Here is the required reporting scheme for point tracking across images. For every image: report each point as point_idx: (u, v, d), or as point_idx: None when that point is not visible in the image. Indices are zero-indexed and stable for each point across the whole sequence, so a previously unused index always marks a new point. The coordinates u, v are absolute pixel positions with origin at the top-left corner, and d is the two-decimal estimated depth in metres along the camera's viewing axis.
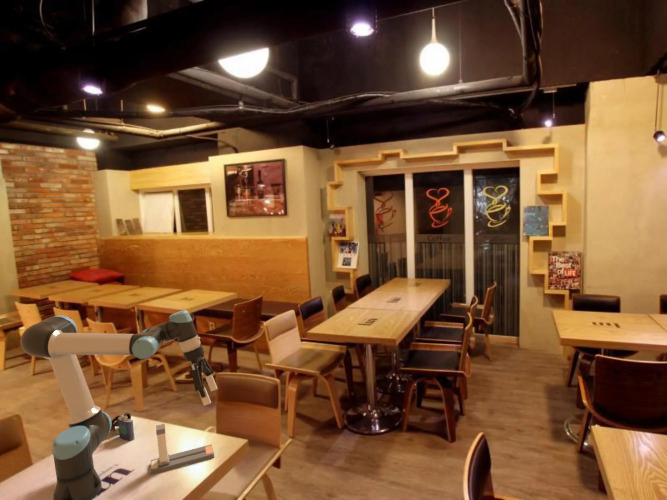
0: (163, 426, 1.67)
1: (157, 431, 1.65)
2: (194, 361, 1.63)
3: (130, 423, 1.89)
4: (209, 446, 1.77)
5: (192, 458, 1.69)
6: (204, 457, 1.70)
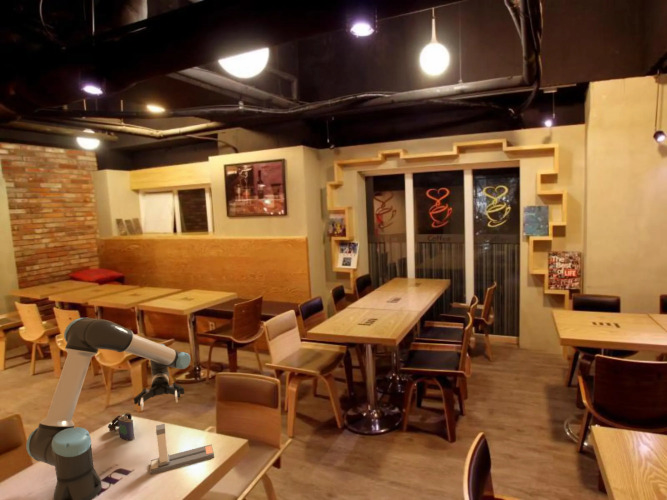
0: (163, 426, 1.67)
1: (157, 431, 1.65)
2: (168, 386, 1.92)
3: (130, 423, 1.89)
4: (209, 446, 1.77)
5: (192, 458, 1.69)
6: (204, 457, 1.70)
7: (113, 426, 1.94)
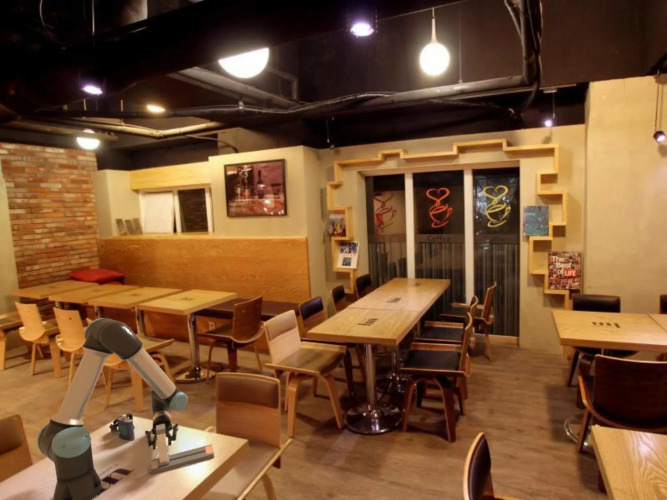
0: (163, 426, 1.67)
1: (157, 431, 1.65)
2: None
3: (130, 423, 1.88)
4: (209, 446, 1.77)
5: (192, 458, 1.69)
6: (204, 457, 1.70)
7: (114, 426, 1.93)
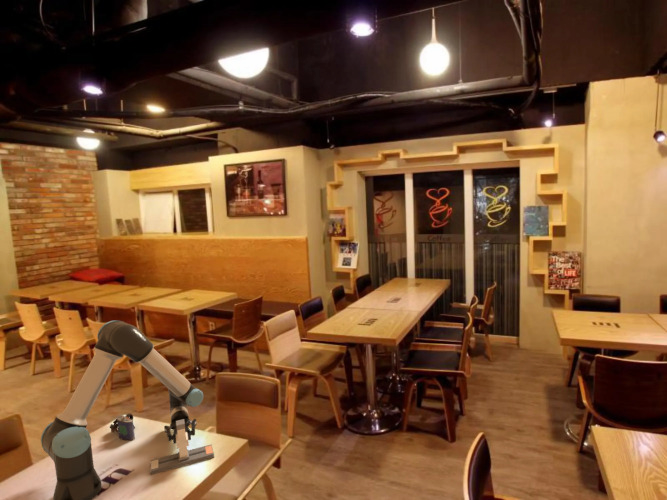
0: (183, 421, 1.70)
1: (177, 426, 1.67)
2: (190, 421, 1.84)
3: (130, 423, 1.88)
4: (209, 446, 1.77)
5: (192, 458, 1.69)
6: (204, 457, 1.70)
7: (115, 426, 1.93)
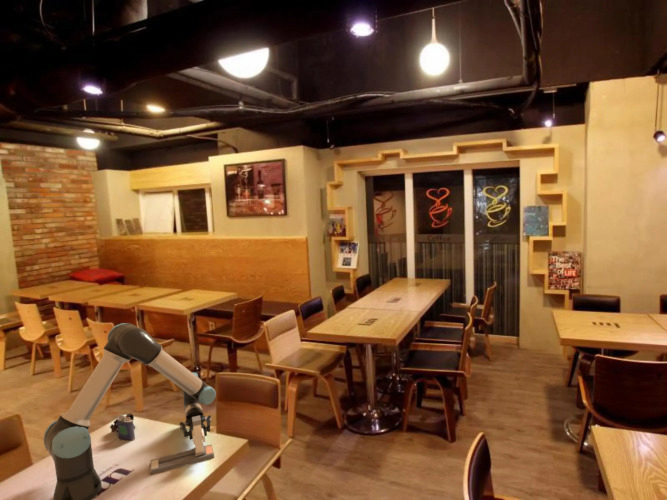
0: (199, 418, 1.72)
1: (194, 422, 1.70)
2: None
3: (131, 423, 1.88)
4: (209, 446, 1.77)
5: (192, 458, 1.69)
6: (204, 457, 1.70)
7: (115, 427, 1.93)
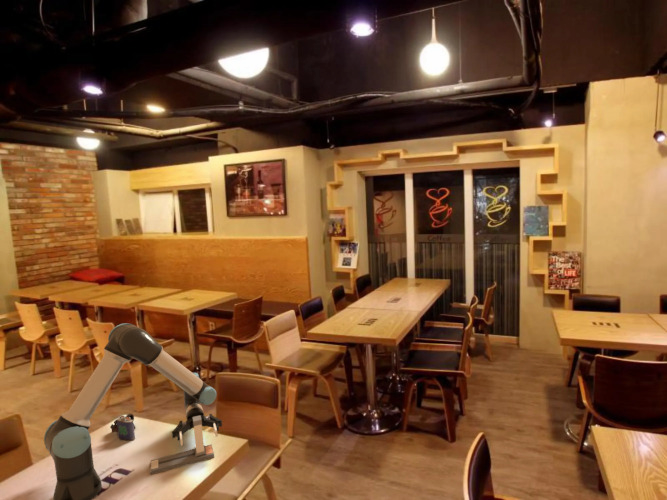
0: (199, 417, 1.72)
1: (194, 422, 1.70)
2: None
3: (131, 423, 1.88)
4: (209, 446, 1.77)
5: (192, 458, 1.69)
6: (204, 457, 1.70)
7: (115, 427, 1.93)
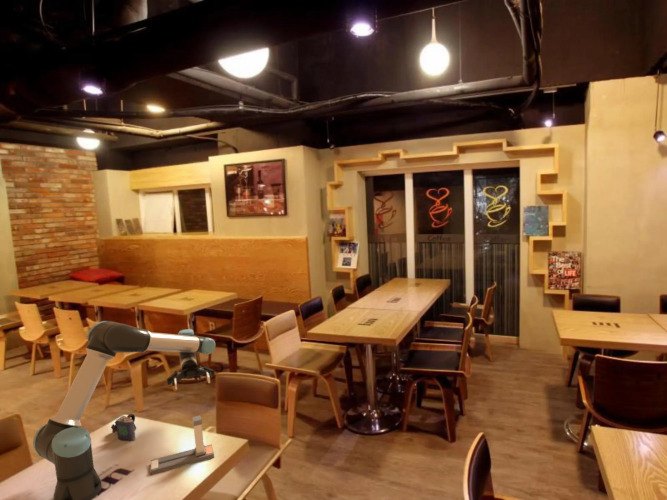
0: (199, 417, 1.72)
1: (194, 422, 1.70)
2: None
3: (131, 423, 1.88)
4: (209, 446, 1.77)
5: (192, 458, 1.69)
6: (204, 457, 1.70)
7: (116, 427, 1.93)
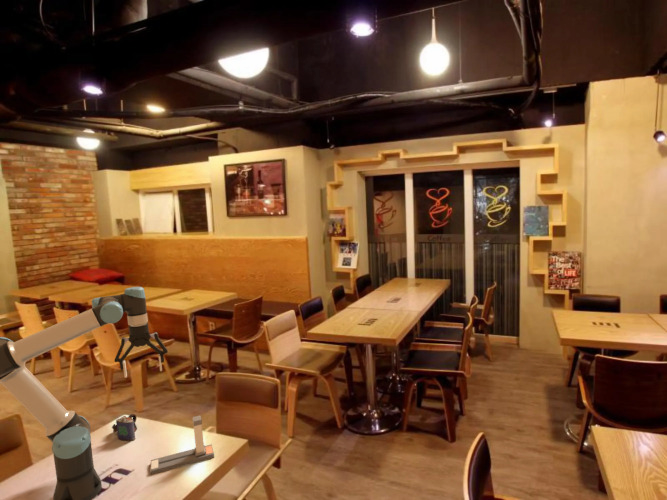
0: (199, 417, 1.72)
1: (194, 422, 1.70)
2: None
3: (131, 423, 1.88)
4: (209, 446, 1.77)
5: (192, 458, 1.69)
6: (204, 457, 1.70)
7: (116, 427, 1.93)
